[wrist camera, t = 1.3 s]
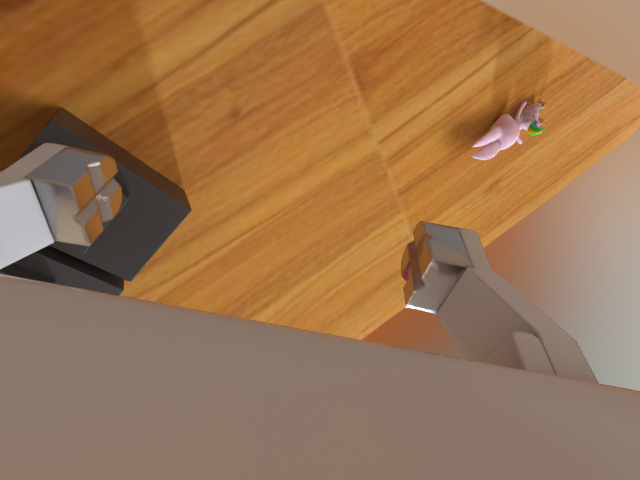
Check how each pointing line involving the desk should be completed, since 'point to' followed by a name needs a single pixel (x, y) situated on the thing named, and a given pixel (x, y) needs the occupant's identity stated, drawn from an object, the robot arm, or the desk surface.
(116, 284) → the low key box
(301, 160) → the desk surface
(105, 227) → the high key box
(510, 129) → the rabbit figure
